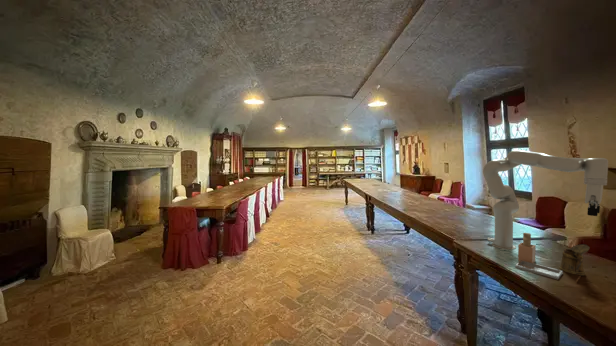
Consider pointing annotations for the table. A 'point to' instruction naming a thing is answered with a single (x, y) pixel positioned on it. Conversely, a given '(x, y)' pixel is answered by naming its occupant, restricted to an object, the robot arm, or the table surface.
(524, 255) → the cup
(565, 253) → the wooden mug
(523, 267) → the tray
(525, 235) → the dowel
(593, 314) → the table surface
